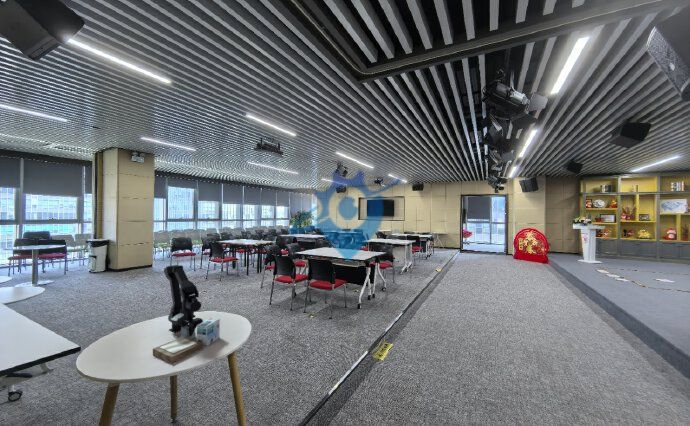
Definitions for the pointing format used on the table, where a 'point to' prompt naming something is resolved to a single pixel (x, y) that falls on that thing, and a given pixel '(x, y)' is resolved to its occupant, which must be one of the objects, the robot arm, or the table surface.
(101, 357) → the table surface
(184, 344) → the walnut base
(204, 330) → the light bulb box
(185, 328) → the grey block
